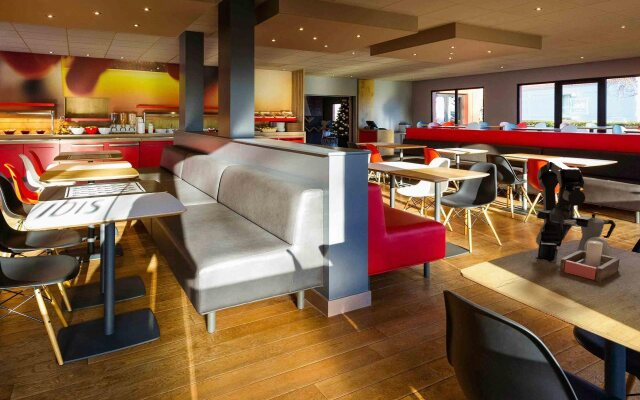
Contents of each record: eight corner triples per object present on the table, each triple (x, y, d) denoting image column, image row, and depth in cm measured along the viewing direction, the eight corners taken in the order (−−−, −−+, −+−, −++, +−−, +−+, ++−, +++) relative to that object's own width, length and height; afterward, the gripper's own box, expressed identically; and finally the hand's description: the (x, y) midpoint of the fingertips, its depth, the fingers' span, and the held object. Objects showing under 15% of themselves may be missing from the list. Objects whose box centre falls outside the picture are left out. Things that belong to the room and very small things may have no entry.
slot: (559, 270, 180) (561, 258, 179) (578, 261, 192) (580, 249, 191) (600, 281, 169) (601, 268, 168) (618, 270, 181) (619, 258, 180)
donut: (610, 262, 191) (613, 239, 189) (607, 263, 189) (610, 240, 187) (584, 256, 199) (587, 234, 197) (581, 257, 196) (584, 235, 194)
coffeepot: (573, 253, 201) (578, 214, 198) (570, 247, 210) (575, 210, 206) (614, 258, 196) (619, 217, 193) (608, 251, 205) (614, 212, 201)
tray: (564, 271, 179) (565, 260, 178) (581, 262, 189) (583, 252, 188) (594, 279, 170) (595, 268, 170) (610, 270, 181) (612, 259, 180)
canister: (581, 265, 183) (585, 242, 181) (588, 263, 186) (592, 240, 183) (594, 269, 179) (598, 245, 177) (602, 267, 181) (605, 243, 179)
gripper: (532, 199, 176) (528, 237, 179) (583, 207, 162) (578, 249, 165) (545, 195, 183) (541, 233, 186) (596, 203, 169) (590, 243, 172)
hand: (561, 239), depth 177 cm, fingers closed
